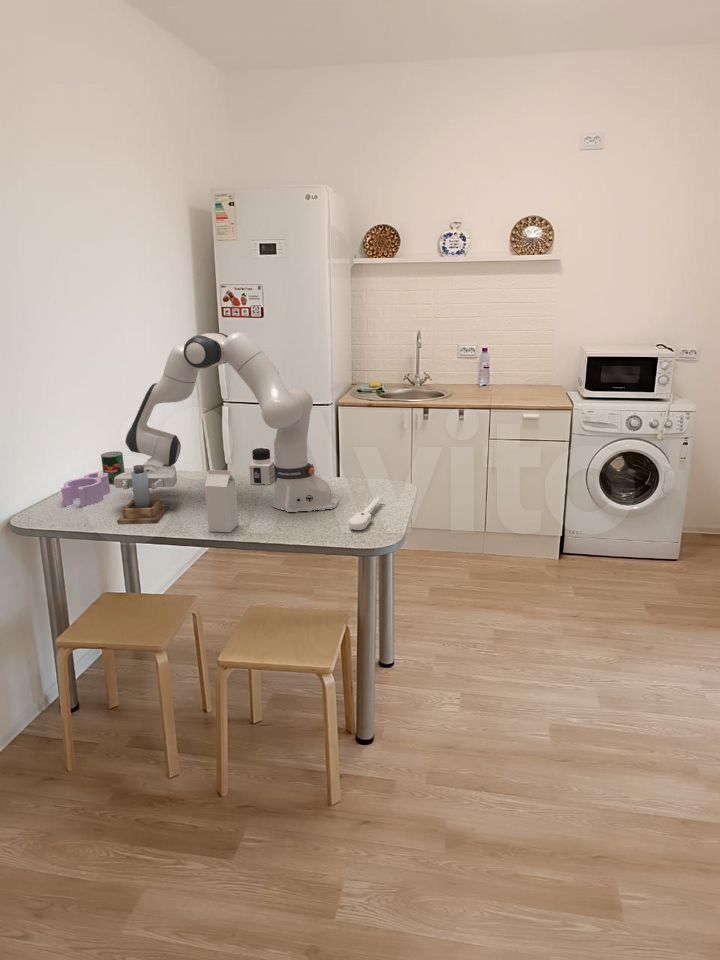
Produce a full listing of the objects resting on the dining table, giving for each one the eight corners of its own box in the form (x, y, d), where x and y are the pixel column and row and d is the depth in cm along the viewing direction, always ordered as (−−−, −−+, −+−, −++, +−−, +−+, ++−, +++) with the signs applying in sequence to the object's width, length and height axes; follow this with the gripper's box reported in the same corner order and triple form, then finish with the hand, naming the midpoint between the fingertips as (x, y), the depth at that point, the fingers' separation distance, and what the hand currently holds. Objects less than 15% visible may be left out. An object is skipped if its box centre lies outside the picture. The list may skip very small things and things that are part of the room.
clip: (88, 489, 267) (85, 472, 265) (119, 490, 265) (116, 473, 263) (57, 507, 248) (54, 488, 246) (90, 508, 246) (87, 489, 244)
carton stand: (168, 508, 244) (167, 497, 242) (157, 523, 230) (156, 510, 229) (130, 509, 244) (129, 497, 242) (117, 524, 230) (115, 511, 229)
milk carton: (230, 533, 220) (225, 474, 215) (208, 531, 222) (203, 473, 216) (238, 525, 227) (234, 467, 221) (217, 523, 228) (212, 466, 223)
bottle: (153, 510, 239) (148, 464, 234) (148, 515, 234) (143, 468, 229) (138, 510, 239) (133, 464, 234) (133, 515, 234) (128, 468, 229)
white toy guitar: (371, 503, 245) (371, 495, 244) (387, 505, 243) (387, 497, 242) (345, 531, 219) (345, 522, 218) (363, 532, 217) (363, 523, 216)
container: (270, 485, 267) (267, 451, 263) (250, 484, 268) (247, 451, 264) (275, 479, 274) (273, 446, 270) (256, 478, 275) (254, 446, 272)
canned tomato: (106, 485, 271) (102, 457, 268) (102, 480, 278) (99, 453, 274) (127, 482, 275) (124, 454, 271) (123, 477, 281) (120, 450, 278)
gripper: (120, 466, 245) (106, 478, 232) (179, 465, 245) (169, 476, 232) (122, 484, 247) (108, 496, 234) (181, 482, 247) (171, 495, 234)
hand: (139, 486), depth 233 cm, fingers open, 8 cm apart
